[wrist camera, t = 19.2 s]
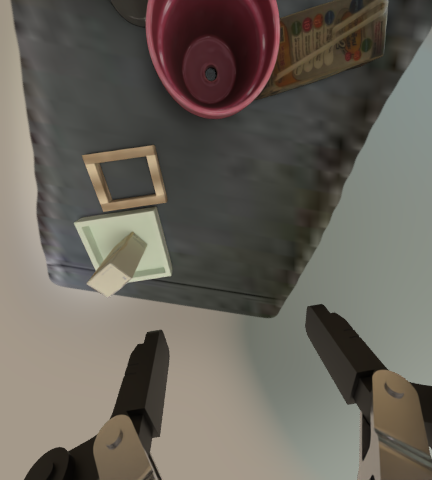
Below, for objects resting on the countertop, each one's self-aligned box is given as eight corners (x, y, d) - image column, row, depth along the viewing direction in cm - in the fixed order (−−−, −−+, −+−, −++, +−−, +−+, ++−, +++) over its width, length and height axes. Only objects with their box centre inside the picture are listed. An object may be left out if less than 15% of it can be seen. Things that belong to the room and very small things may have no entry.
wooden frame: (87, 154, 36) (81, 155, 34) (154, 145, 36) (152, 145, 35) (107, 208, 41) (103, 211, 39) (167, 199, 41) (166, 202, 39)
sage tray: (81, 217, 41) (73, 222, 38) (156, 206, 41) (153, 210, 39) (108, 278, 47) (103, 286, 45) (172, 268, 48) (171, 275, 45)
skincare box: (132, 230, 42) (110, 261, 31) (148, 245, 44) (133, 278, 33) (112, 248, 44) (84, 283, 33) (128, 261, 45) (107, 299, 34)
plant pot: (154, 105, 34) (133, 86, 22) (175, -7, 29) (161, -107, 17) (233, 137, 37) (250, 134, 26) (265, 41, 32) (305, -17, 20)
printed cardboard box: (357, 70, 35) (390, 55, 29) (247, 104, 35) (258, 97, 29) (359, 6, 31) (397, -26, 25) (237, 46, 32) (247, 24, 26)
